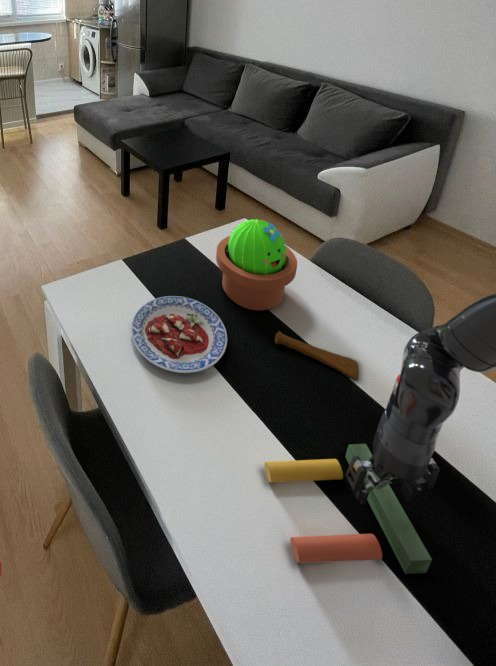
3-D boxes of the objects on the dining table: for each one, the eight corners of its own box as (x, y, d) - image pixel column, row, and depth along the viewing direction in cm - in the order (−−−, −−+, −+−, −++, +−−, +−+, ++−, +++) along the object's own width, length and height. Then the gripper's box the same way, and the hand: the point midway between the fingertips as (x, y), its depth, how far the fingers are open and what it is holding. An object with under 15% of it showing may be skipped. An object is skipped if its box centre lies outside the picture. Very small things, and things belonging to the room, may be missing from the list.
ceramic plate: (163, 395, 102) (163, 386, 100) (115, 320, 124) (114, 312, 122) (247, 354, 111) (248, 345, 110) (188, 290, 133) (189, 283, 132)
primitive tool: (356, 362, 107) (359, 352, 106) (357, 380, 103) (360, 370, 101) (275, 336, 116) (276, 326, 114) (272, 352, 111) (274, 342, 110)
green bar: (362, 456, 87) (365, 443, 86) (426, 573, 71) (432, 559, 69) (345, 457, 87) (348, 444, 86) (405, 573, 71) (410, 560, 69)
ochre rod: (332, 465, 86) (335, 455, 85) (341, 483, 83) (344, 472, 82) (263, 468, 86) (265, 458, 85) (269, 486, 83) (271, 476, 82)
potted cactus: (201, 277, 138) (204, 212, 129) (256, 259, 145) (263, 195, 136) (246, 327, 119) (254, 254, 110) (307, 303, 126) (319, 232, 116)
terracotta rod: (368, 539, 75) (372, 529, 74) (380, 563, 72) (384, 553, 71) (289, 543, 75) (291, 532, 74) (297, 567, 72) (300, 556, 71)
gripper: (375, 466, 68) (355, 524, 74) (464, 463, 68) (437, 521, 74) (349, 419, 75) (333, 475, 81) (429, 416, 75) (407, 473, 81)
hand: (382, 497), depth 78 cm, fingers open, 8 cm apart
